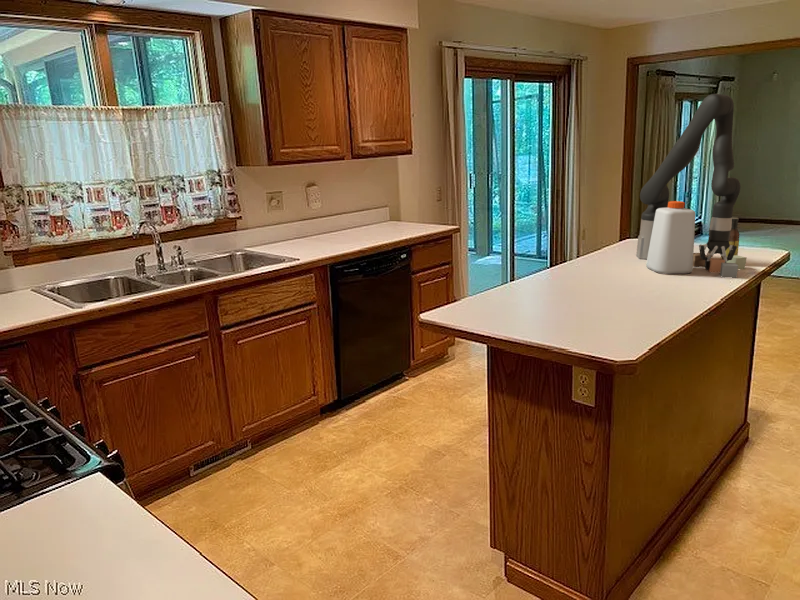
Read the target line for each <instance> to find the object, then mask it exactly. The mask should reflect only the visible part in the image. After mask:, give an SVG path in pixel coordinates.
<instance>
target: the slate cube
mask: <svg viewBox="0 0 800 600" xmlns="http://www.w3.org/2000/svg"><path fill="white" fill-rule="evenodd" d="M738 271H739V270H738V265H737V264H736V263H724V262H721V269H720V272H719V276H722V277H721V278H725V277H732V278H731V279H737V277H738Z"/></svg>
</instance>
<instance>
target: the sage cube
mask: <svg viewBox="0 0 800 600" xmlns="http://www.w3.org/2000/svg"><path fill="white" fill-rule="evenodd" d="M726 263H736V264H737V265H738V269H742V270H746V269H745V268H746V264H747V257H745V256H743V255H739V254H738V255H734V256H733V258H732V260H729V261H727V262H726Z"/></svg>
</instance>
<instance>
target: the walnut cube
mask: <svg viewBox="0 0 800 600" xmlns="http://www.w3.org/2000/svg"><path fill="white" fill-rule="evenodd" d="M706 256H707V254H705V257H706ZM699 266H705V260H703V259H701V258H700V252H693V268H700V267H699Z"/></svg>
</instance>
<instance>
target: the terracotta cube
mask: <svg viewBox="0 0 800 600" xmlns="http://www.w3.org/2000/svg"><path fill="white" fill-rule="evenodd" d="M721 262H724V263H725V260H723V259H722V258H721V257H712V258H711V259H710V267H709V270H708V271H707V272H709V273H720V269H721Z"/></svg>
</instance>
